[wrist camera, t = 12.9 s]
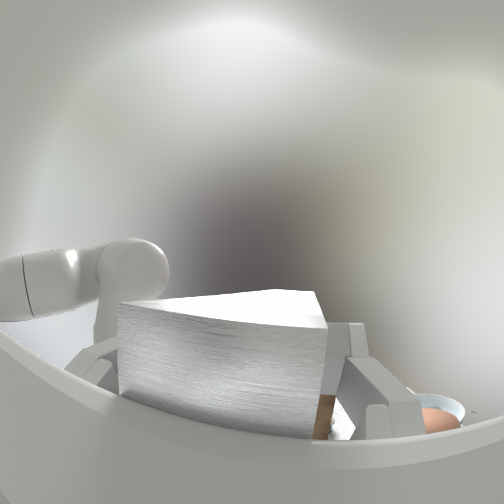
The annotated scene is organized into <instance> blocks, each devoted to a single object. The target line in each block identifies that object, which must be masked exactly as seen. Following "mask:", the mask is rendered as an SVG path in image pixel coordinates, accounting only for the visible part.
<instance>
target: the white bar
mask: <svg viewBox="0 0 504 504" xmlns="http://www.w3.org/2000/svg"><path fill="white" fill-rule="evenodd" d="M327 336H328V327H327V324H326V322H325V319H324V317H323V314H322V312H321V309H320V306H319V304H318V302H317V299H316V297H315V294H314V292H307V291H292V290H277V289H274V290H265V291H257V292H246V293H236V294H225V295H214V296H203V297H191V298H178V299H165V300H148V301H131V302H118V321H117V355H118V380H119V395H120V396H121V397H124V398H126V399H129V400H131V401H134V402H137V403H139V404H142V405H145V406H148V407H151V408H154V409H157V410H160V411H163V412H166V413H169V414H172V415H176V416H179V417H183V418H186V419H190V420H194V421H198V422H201V423H206V424H210V425H214V426H219V427H223V428H228V429H233V430H239V431H244V432H250V433H257V434H264V435H271V436H279V437H289V438H300V439H312V434H313V429H314V424H315V418H316V413H317V407H318V401H319V395H320V389H321V382H322V376H323V368H324V361H325V353H326V345H327Z"/></svg>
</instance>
